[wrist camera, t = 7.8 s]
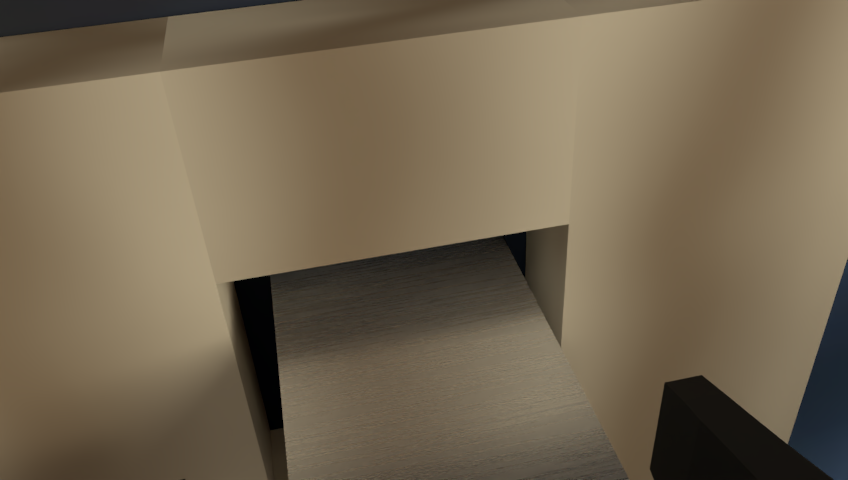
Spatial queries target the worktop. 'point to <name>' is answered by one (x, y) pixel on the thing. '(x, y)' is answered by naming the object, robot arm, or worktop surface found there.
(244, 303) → the worktop surface
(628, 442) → the socket board
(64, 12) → the worktop surface
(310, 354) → the square peg
